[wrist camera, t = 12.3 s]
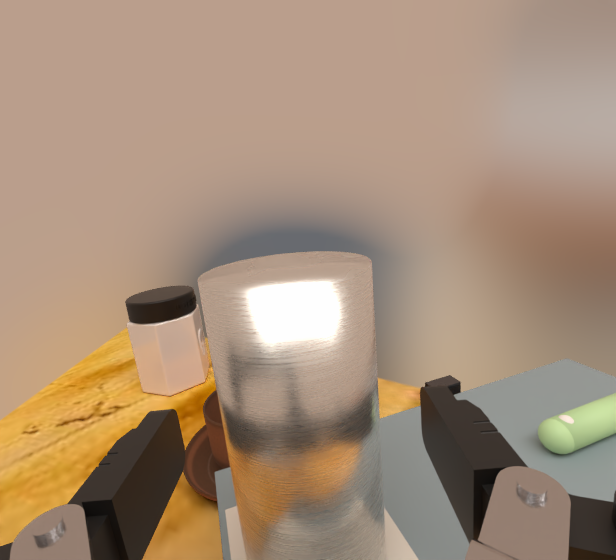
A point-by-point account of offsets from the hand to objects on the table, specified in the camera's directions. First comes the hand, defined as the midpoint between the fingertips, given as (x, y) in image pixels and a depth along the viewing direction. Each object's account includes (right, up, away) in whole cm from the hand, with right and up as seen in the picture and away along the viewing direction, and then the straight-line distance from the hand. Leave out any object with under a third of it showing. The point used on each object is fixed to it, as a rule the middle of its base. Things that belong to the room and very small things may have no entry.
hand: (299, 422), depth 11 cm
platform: (+10, -9, +6) cm, 15 cm away
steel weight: (+1, -6, +2) cm, 6 cm away
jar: (-17, -9, +36) cm, 41 cm away
